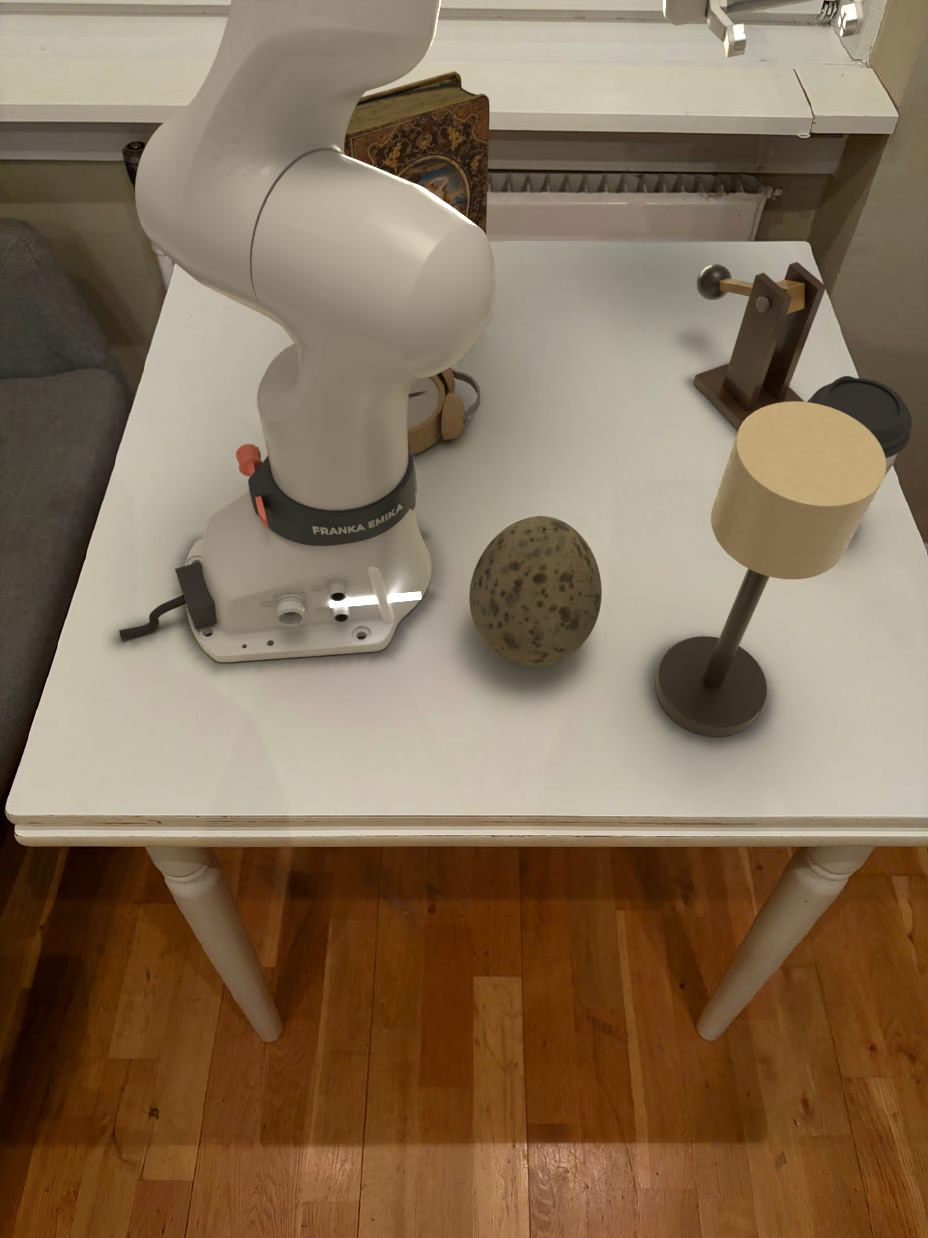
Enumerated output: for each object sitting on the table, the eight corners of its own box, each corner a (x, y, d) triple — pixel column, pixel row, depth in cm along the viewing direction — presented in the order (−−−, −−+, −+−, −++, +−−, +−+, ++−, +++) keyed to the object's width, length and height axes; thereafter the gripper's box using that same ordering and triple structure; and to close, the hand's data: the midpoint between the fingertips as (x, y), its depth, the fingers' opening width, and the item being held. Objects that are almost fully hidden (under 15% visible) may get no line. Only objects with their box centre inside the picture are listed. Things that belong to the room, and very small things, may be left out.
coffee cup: (878, 528, 91) (945, 410, 79) (812, 569, 88) (871, 452, 76) (809, 471, 95) (862, 351, 83) (744, 508, 92) (789, 389, 80)
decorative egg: (557, 714, 79) (578, 607, 67) (445, 660, 82) (445, 548, 70) (610, 622, 84) (638, 508, 72) (503, 575, 87) (512, 458, 75)
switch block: (693, 383, 103) (725, 262, 91) (752, 362, 105) (791, 242, 93) (748, 441, 98) (790, 321, 86) (809, 418, 100) (858, 298, 88)
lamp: (681, 748, 77) (779, 519, 54) (638, 659, 82) (711, 415, 59) (780, 721, 79) (916, 488, 56) (732, 636, 84) (839, 389, 61)
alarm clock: (324, 374, 99) (461, 332, 99) (337, 408, 103) (468, 368, 103) (343, 449, 92) (489, 404, 92) (356, 482, 96) (496, 439, 97)
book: (358, 364, 104) (335, 138, 84) (335, 336, 107) (308, 111, 87) (483, 316, 109) (491, 92, 89) (458, 291, 112) (460, 68, 92)
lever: (690, 301, 102) (688, 267, 100) (717, 292, 103) (716, 258, 101) (780, 322, 90) (780, 284, 88) (810, 312, 91) (810, 274, 89)
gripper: (651, -110, 80) (670, 35, 78) (905, -162, 77) (932, -13, 75) (648, -48, 86) (666, 88, 84) (884, -94, 83) (908, 46, 81)
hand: (794, 40), depth 79 cm, fingers open, 8 cm apart
